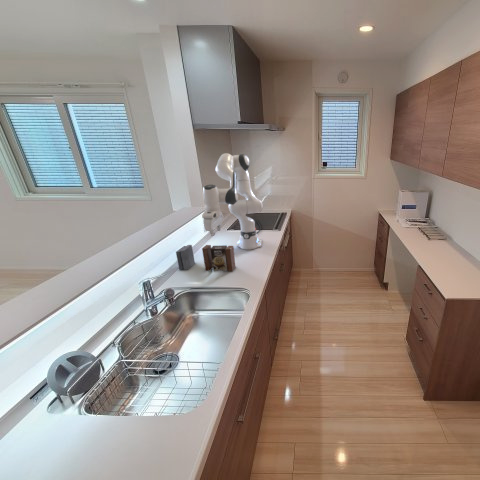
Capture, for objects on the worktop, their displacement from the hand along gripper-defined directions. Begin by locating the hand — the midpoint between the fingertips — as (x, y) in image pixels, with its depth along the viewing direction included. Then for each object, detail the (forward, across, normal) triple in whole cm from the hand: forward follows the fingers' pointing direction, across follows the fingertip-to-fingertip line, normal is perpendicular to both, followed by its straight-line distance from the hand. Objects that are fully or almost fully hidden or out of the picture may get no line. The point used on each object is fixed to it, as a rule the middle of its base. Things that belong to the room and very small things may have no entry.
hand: (216, 232), depth 157 cm
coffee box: (+26, +1, +1) cm, 26 cm away
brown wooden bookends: (+26, 0, 0) cm, 26 cm away
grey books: (+26, -2, -24) cm, 35 cm away
